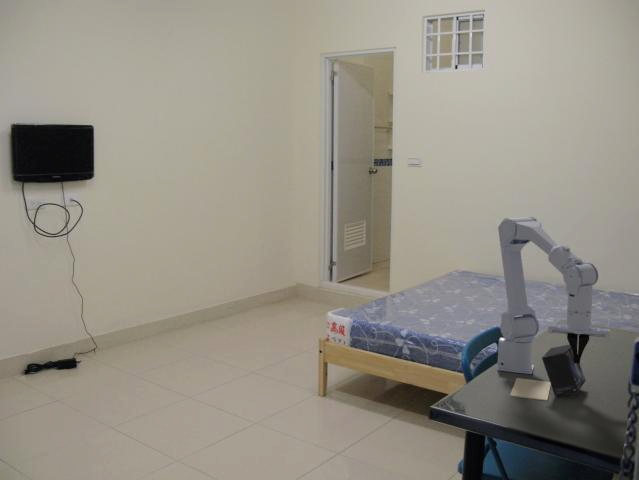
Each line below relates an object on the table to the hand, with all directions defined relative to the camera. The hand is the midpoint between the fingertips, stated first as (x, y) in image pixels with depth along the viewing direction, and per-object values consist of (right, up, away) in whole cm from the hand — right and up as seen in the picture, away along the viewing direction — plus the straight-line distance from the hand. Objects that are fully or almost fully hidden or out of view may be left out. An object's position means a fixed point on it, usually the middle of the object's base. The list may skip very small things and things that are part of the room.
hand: (577, 362), depth 165 cm
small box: (-1, -7, +1) cm, 7 cm away
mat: (-10, -8, +4) cm, 14 cm away
